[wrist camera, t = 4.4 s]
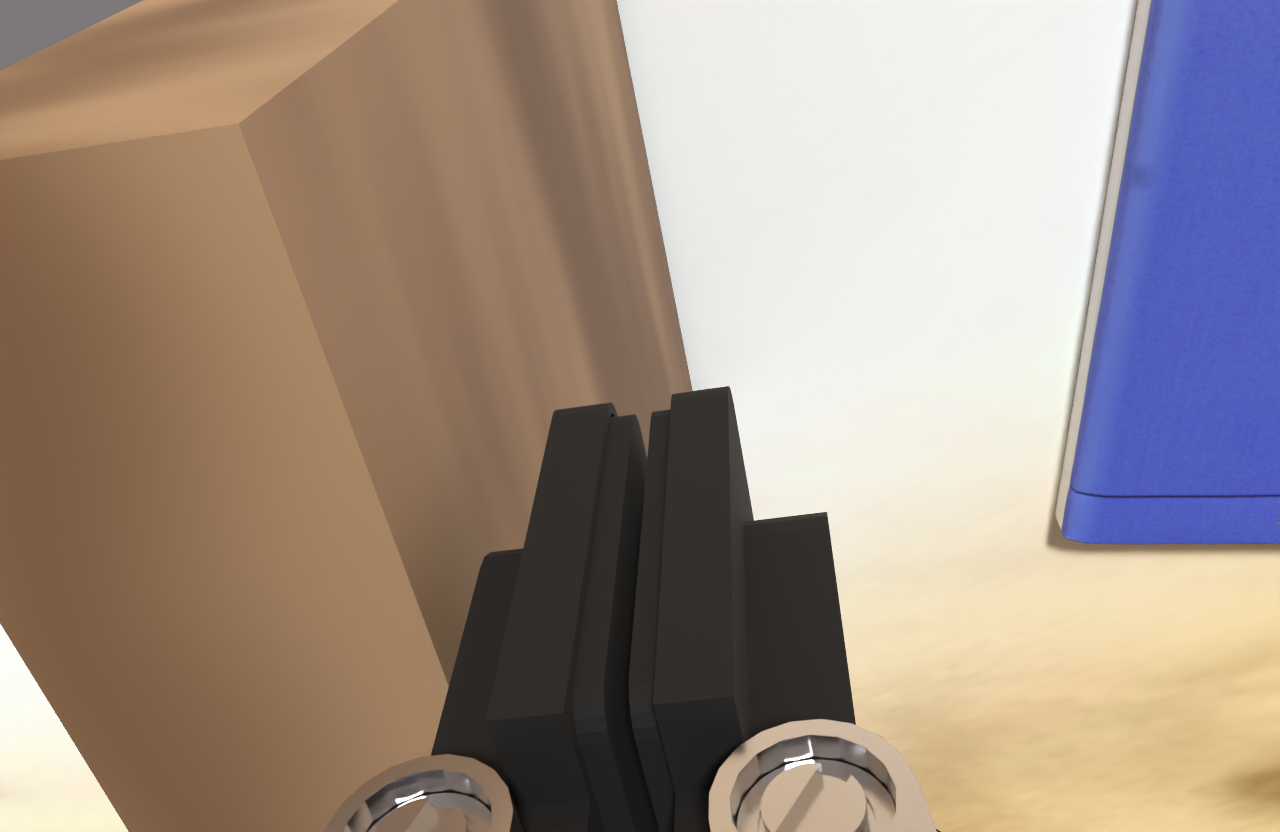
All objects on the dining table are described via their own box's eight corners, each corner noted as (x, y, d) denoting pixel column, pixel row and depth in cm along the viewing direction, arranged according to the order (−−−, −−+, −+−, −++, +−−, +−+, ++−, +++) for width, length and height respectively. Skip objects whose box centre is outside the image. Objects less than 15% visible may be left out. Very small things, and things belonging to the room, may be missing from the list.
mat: (171, -213, 18) (160, -211, 17) (431, 529, 25) (427, 540, 24) (-450, -73, 19) (-470, -69, 19) (-38, 585, 26) (-48, 596, 26)
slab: (587, -147, 18) (237, 123, 8) (698, 420, 23) (575, 1026, 13) (341, -98, 18) (-261, 199, 8) (500, 436, 24) (241, 1013, 14)
